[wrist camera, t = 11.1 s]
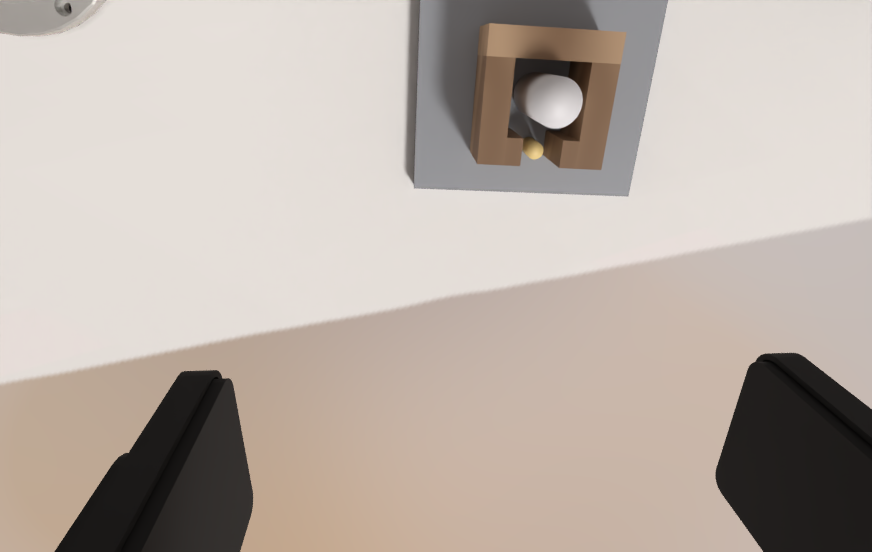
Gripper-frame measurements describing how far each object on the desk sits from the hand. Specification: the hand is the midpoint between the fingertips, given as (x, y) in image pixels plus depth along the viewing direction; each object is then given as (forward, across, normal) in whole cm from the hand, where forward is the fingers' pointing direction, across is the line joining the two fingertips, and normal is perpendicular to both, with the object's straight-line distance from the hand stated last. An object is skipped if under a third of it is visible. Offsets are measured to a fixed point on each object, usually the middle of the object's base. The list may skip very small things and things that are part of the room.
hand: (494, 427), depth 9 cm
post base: (+26, -7, -4) cm, 27 cm away
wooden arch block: (+25, -6, -4) cm, 26 cm away
